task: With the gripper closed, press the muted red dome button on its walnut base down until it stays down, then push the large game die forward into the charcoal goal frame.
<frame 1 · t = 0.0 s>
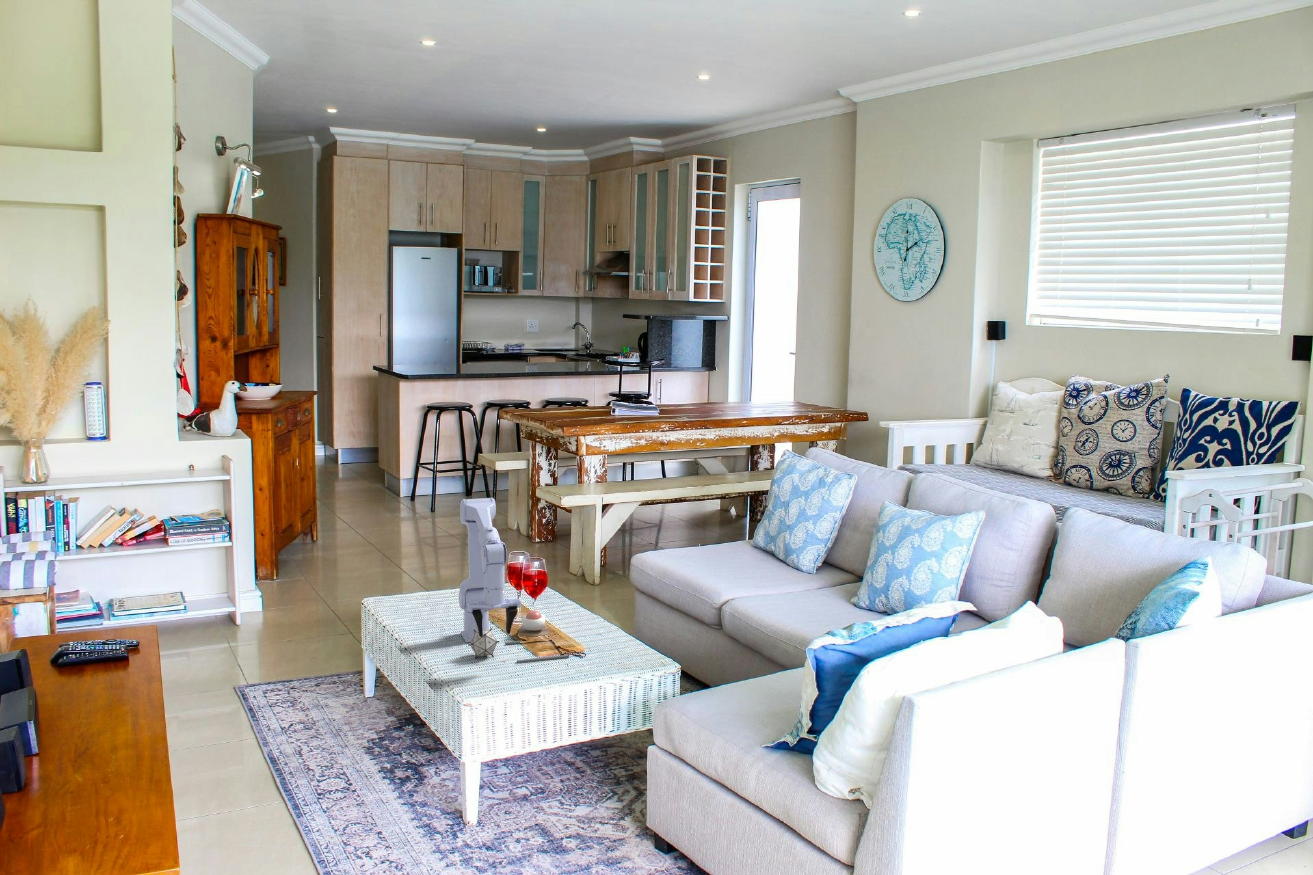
hand: (494, 634, 290), 10 cm above the table, tool pointing down, fingers open, 7 cm apart
dome base: (533, 635, 320), on the table
goal frame: (534, 651, 306), on the table
game die: (483, 657, 301), on the table
dome: (533, 618, 319), point 5 cm above the table, slide at 0.0 cm
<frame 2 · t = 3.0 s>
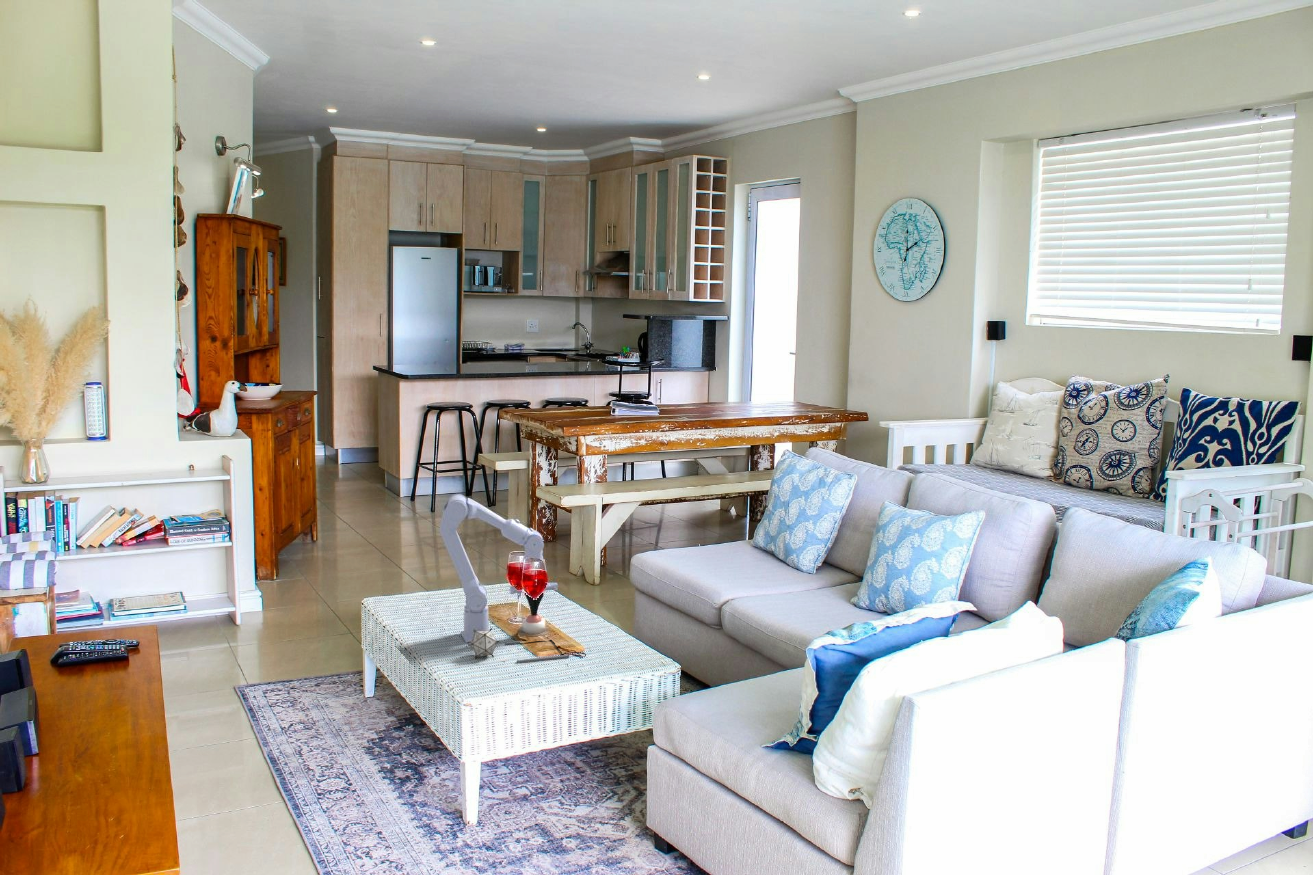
hand: (533, 614, 319), 7 cm above the table, tool pointing down, fingers closed, pressing on dome
dome: (533, 622, 320), point 4 cm above the table, slide at 1.1 cm, touching gripper
everything else where it was.
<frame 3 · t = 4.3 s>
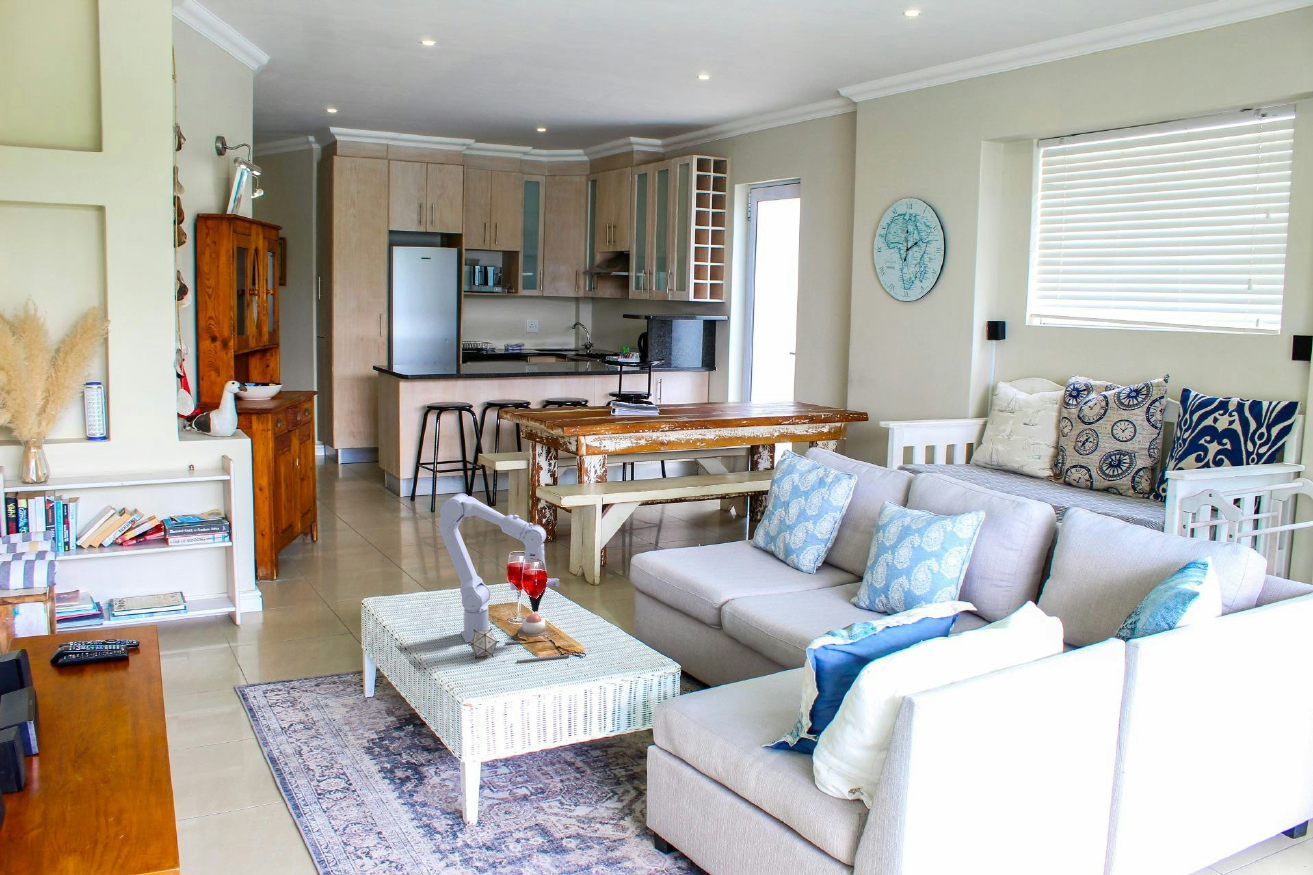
hand: (535, 610, 313), 9 cm above the table, tool pointing down, fingers closed
dome: (533, 622, 320), point 4 cm above the table, slide at 1.1 cm
everything else where it was.
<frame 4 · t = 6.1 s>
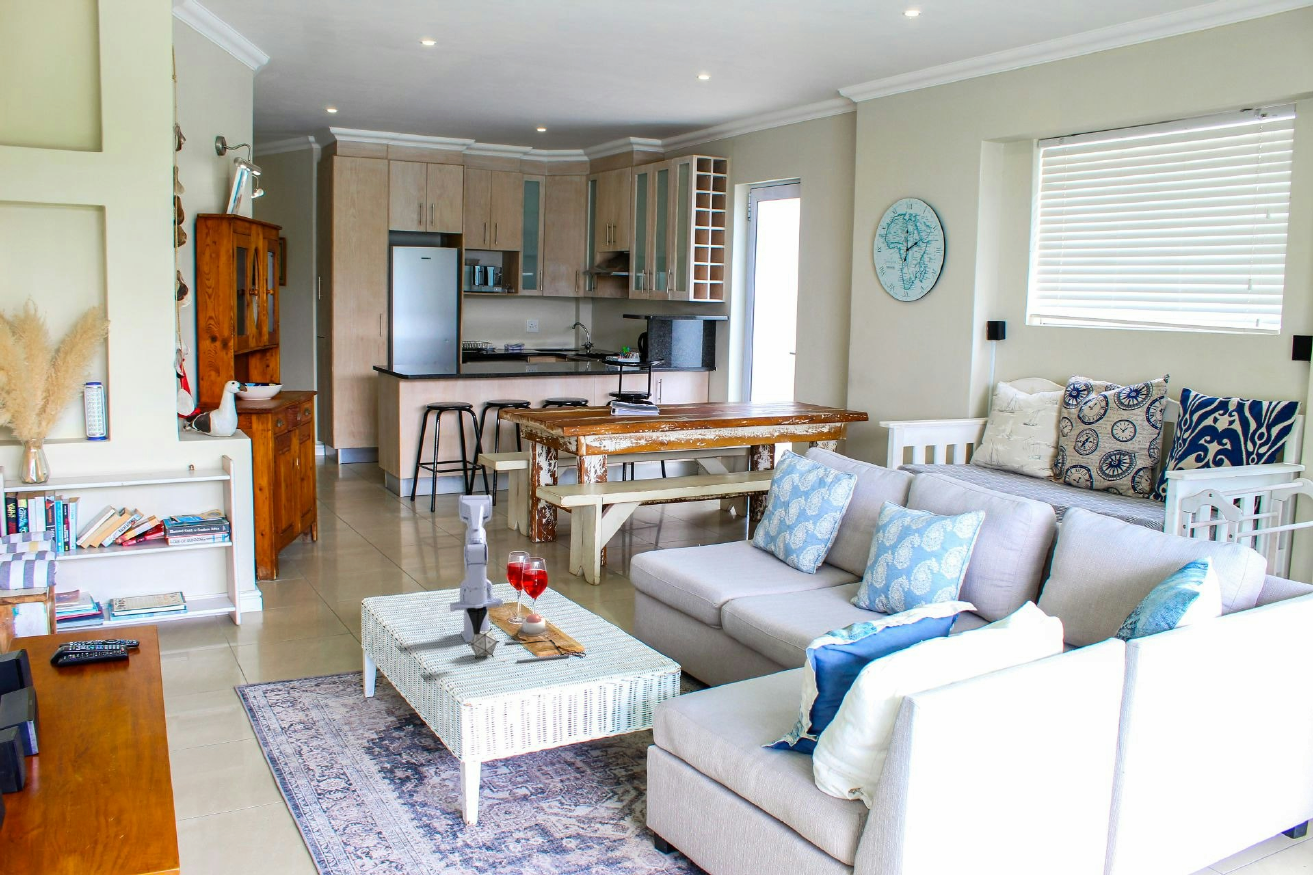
hand: (476, 633, 293), 9 cm above the table, tool pointing down, fingers closed
nothing on the table moved.
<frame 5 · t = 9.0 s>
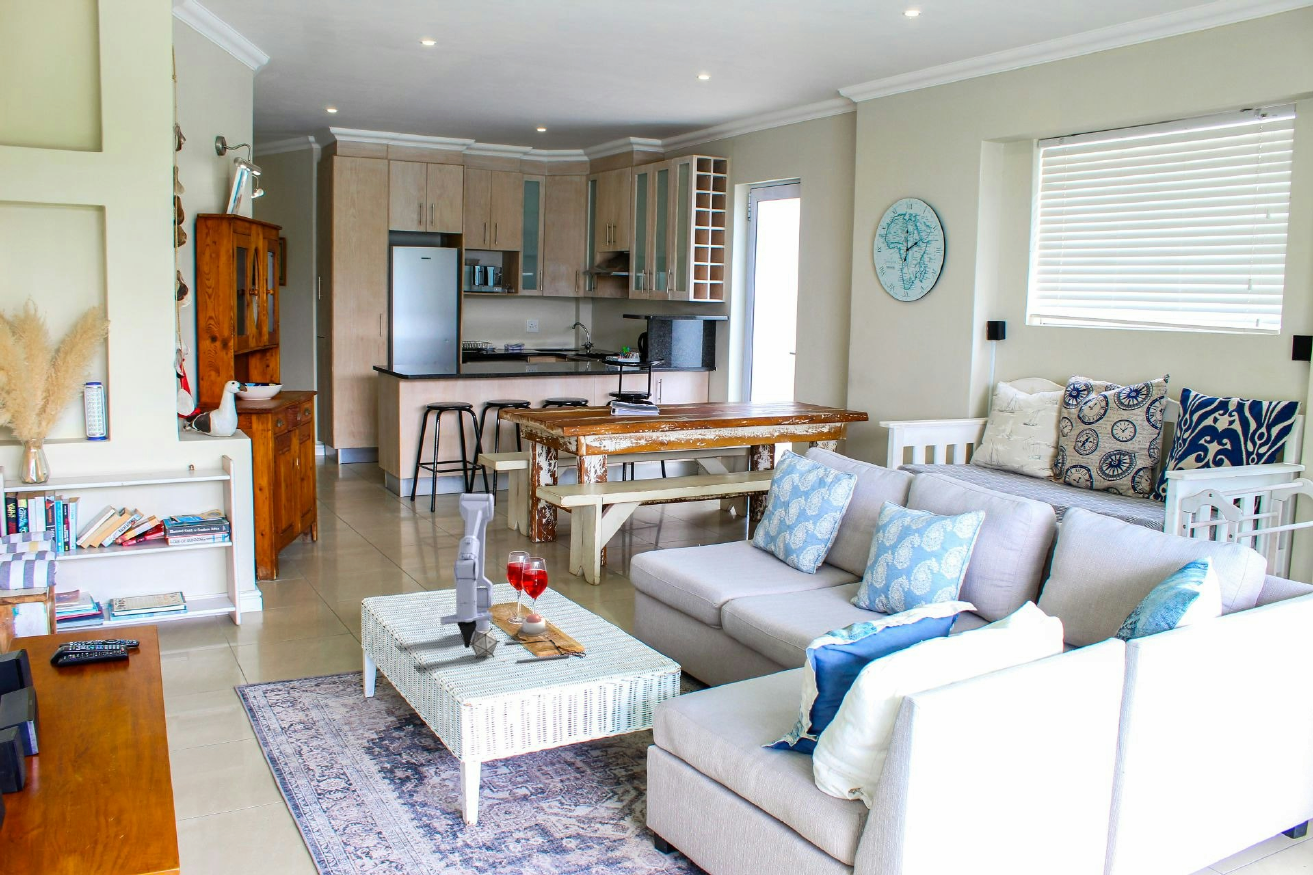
hand: (466, 646, 299), 3 cm above the table, tool pointing down, fingers closed
game die: (484, 656, 301), on the table, touching gripper
everything else where it was.
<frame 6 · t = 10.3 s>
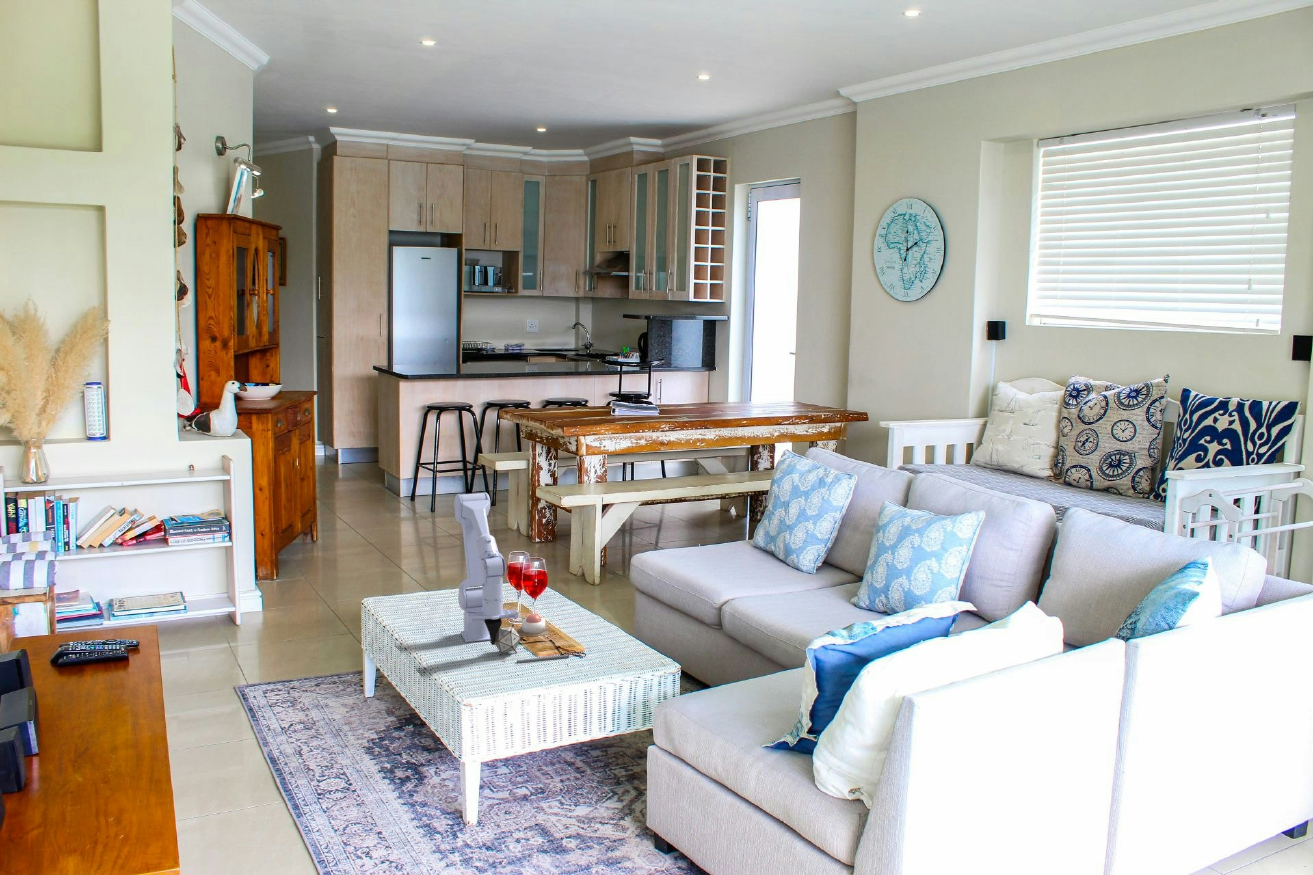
hand: (492, 643, 301), 4 cm above the table, tool pointing down, fingers closed, pressing on game die
game die: (506, 653, 304), on the table, touching gripper
everything else where it was.
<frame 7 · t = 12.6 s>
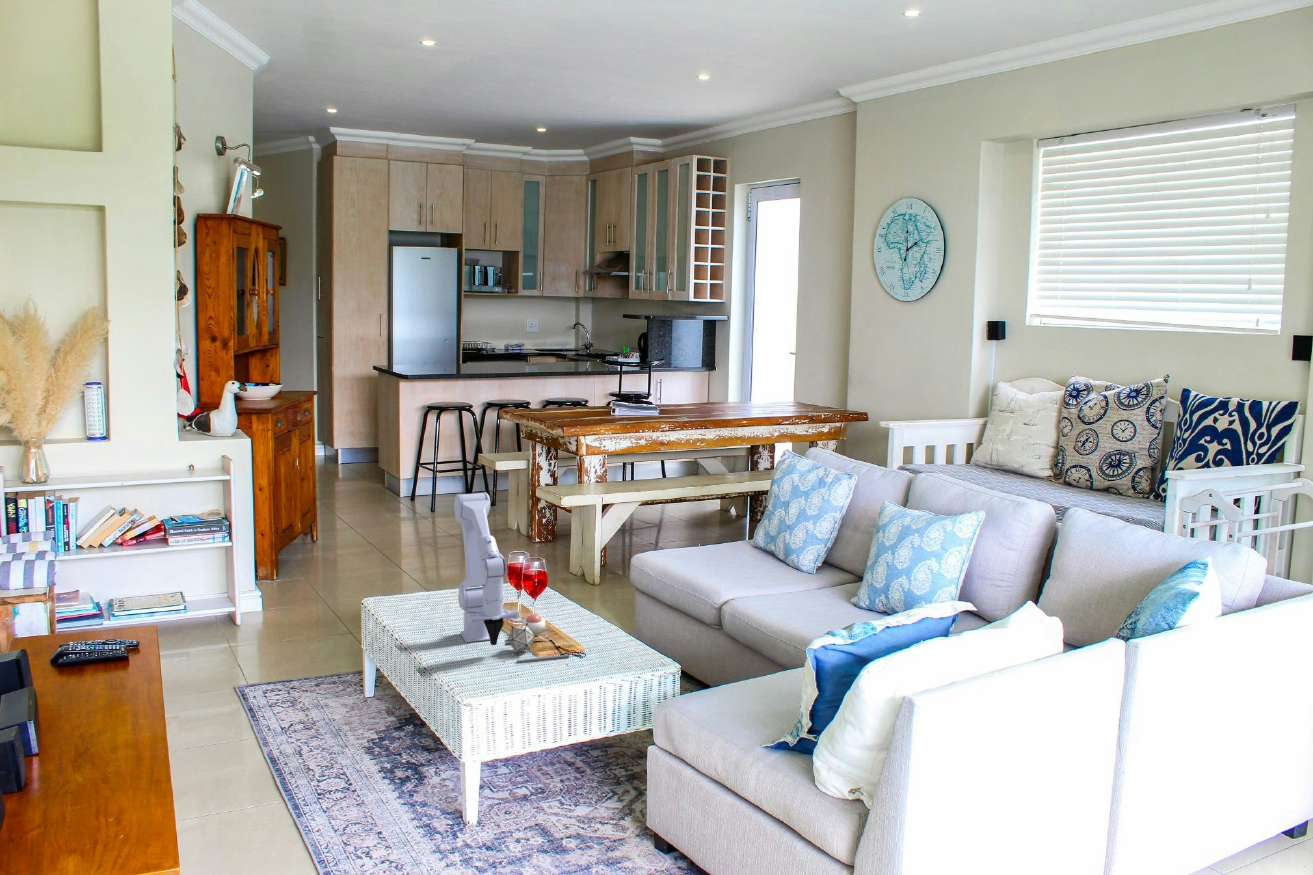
hand: (493, 644, 302), 3 cm above the table, tool pointing down, fingers closed
game die: (521, 652, 306), on the table
everything else where it was.
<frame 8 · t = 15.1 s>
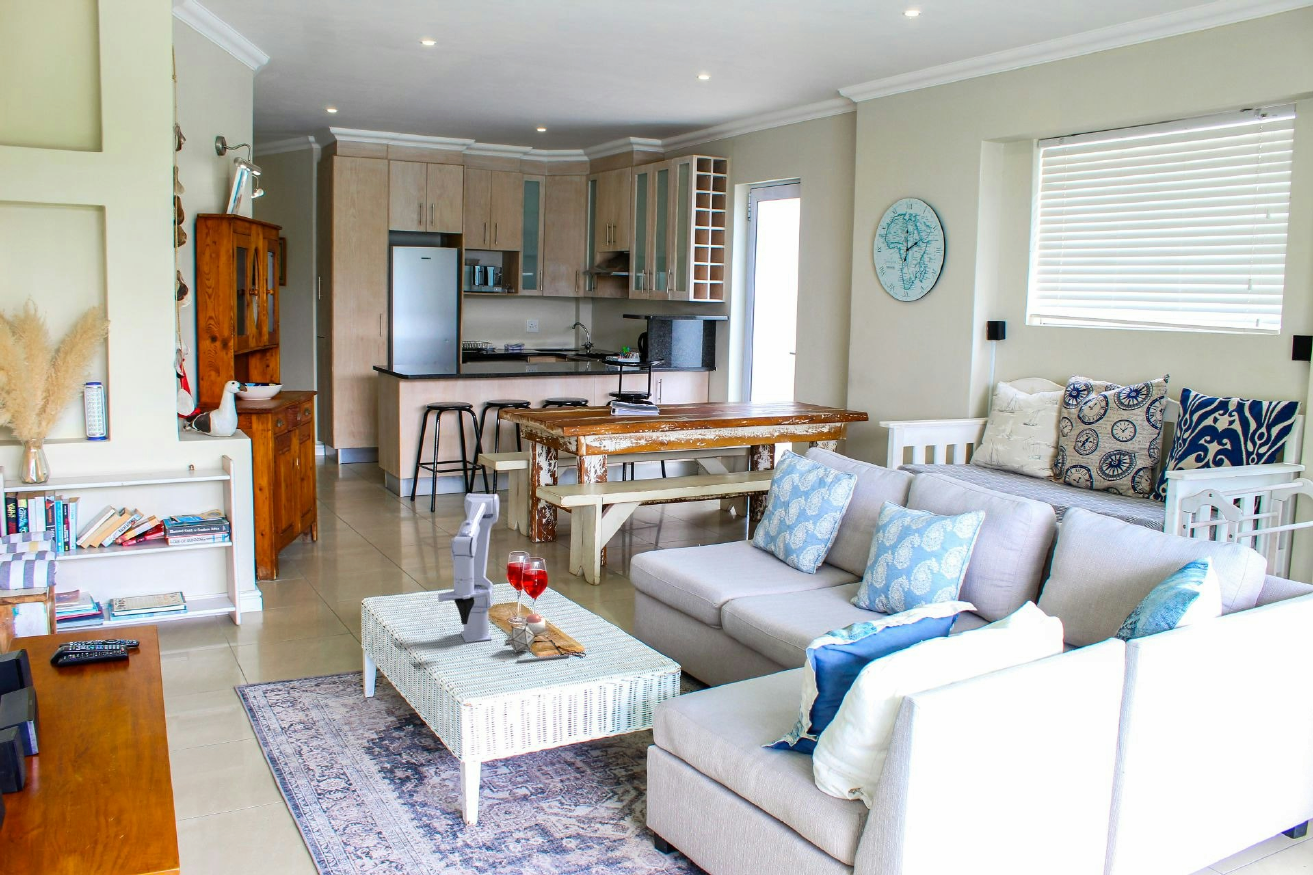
hand: (464, 623, 301), 9 cm above the table, tool pointing down, fingers closed
nothing on the table moved.
at the end: dome slide at 1.1 cm; game die inside the target area (4.1 cm from its centre), on the table; game die moved 11.3 cm from its start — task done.
